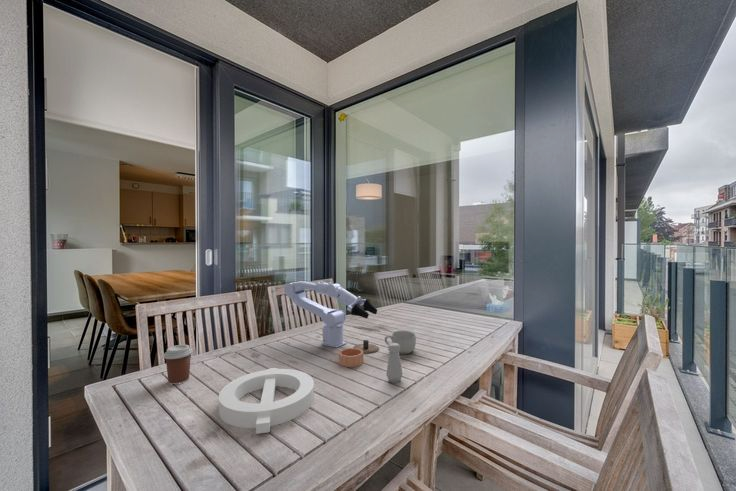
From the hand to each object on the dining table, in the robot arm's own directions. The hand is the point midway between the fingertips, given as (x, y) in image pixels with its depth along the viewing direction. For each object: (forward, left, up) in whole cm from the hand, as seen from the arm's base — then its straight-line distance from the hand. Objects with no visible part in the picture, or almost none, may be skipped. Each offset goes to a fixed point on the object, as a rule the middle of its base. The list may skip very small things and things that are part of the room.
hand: (372, 314), depth 141 cm
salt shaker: (+22, -21, -17) cm, 34 cm away
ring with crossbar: (-5, -54, -17) cm, 57 cm away
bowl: (-1, -15, -17) cm, 22 cm away
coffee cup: (-44, -61, -17) cm, 77 cm away
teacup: (+11, +6, -17) cm, 21 cm away
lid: (-4, +1, -17) cm, 18 cm away
